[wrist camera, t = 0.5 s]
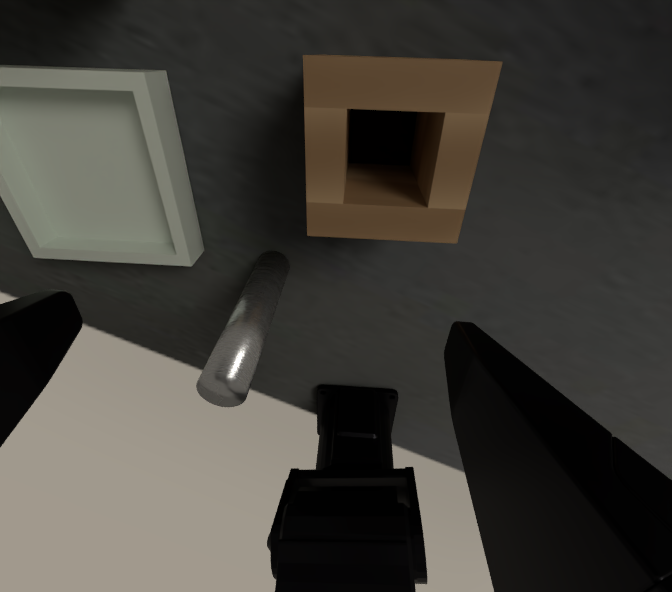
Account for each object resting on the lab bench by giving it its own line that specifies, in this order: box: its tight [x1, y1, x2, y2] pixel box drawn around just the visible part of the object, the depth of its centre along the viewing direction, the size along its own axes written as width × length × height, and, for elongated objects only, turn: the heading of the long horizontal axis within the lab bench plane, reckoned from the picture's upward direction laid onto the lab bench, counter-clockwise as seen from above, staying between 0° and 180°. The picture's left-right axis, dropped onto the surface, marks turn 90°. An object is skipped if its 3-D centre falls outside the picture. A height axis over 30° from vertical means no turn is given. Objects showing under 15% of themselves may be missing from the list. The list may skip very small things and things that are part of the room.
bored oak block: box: [303, 55, 502, 243], centre depth 15 cm, size 6×6×6 cm
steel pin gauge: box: [196, 251, 290, 407], centre depth 18 cm, size 2×2×10 cm
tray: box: [0, 65, 204, 266], centre depth 18 cm, size 9×9×2 cm
